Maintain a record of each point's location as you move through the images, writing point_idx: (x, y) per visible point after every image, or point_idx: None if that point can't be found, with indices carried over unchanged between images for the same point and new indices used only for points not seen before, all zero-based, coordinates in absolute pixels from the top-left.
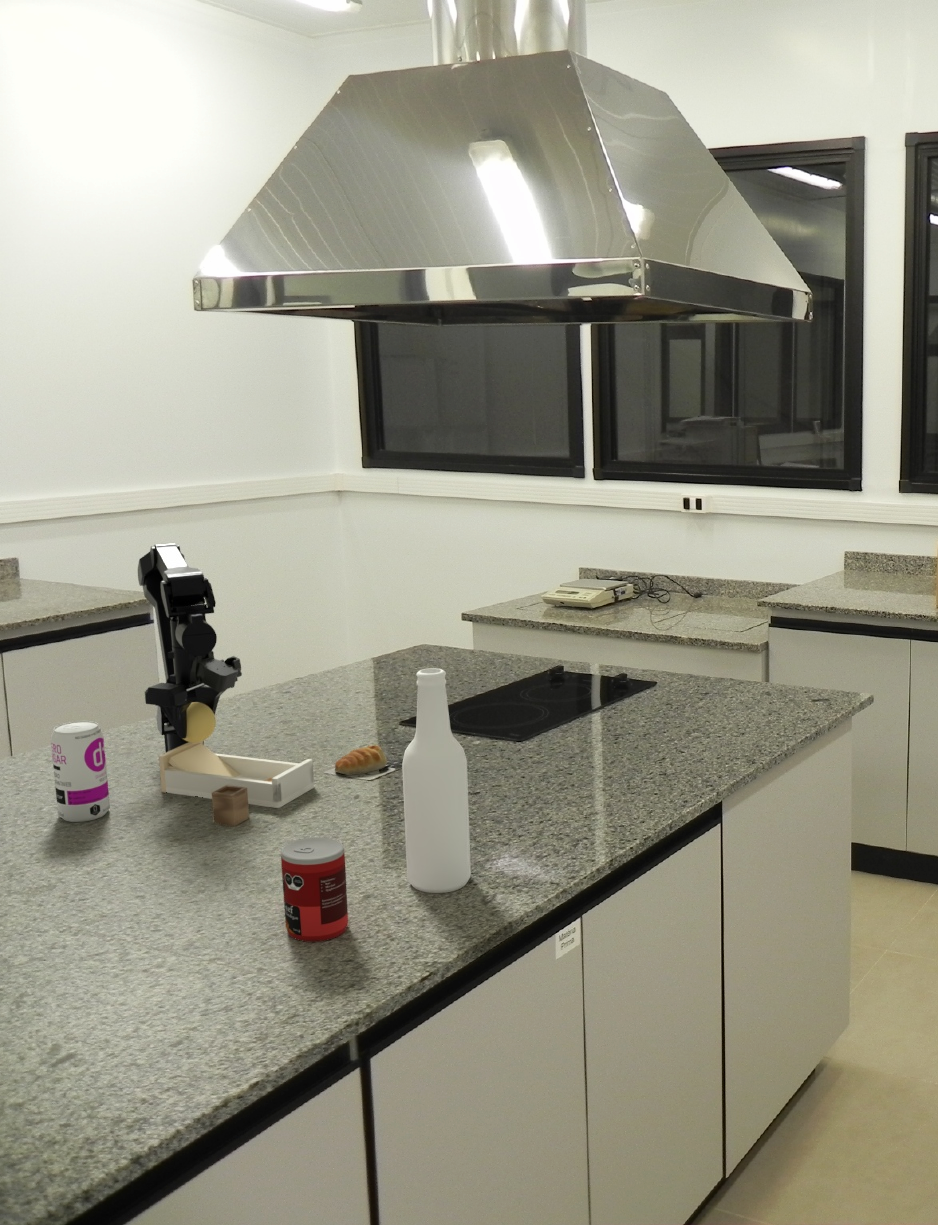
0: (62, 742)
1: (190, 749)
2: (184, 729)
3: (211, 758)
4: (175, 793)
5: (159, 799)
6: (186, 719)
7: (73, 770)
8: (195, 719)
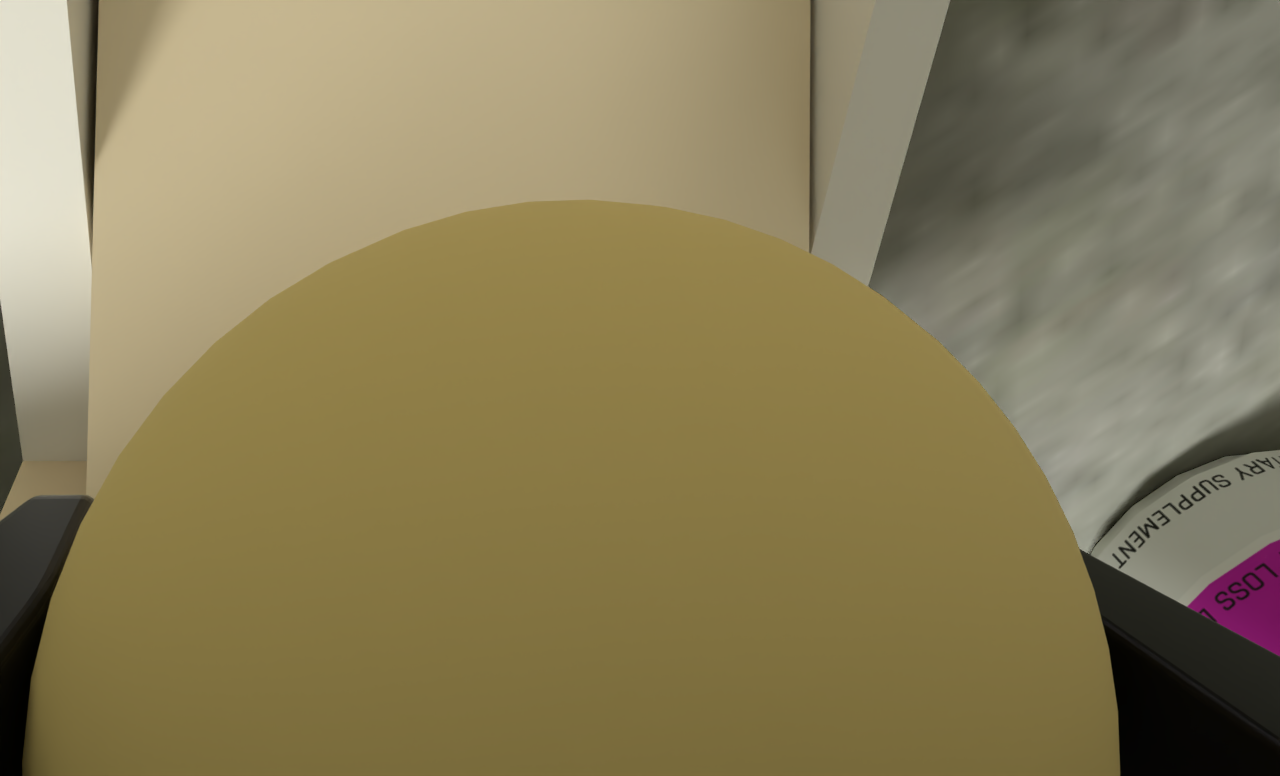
0: None
1: None
2: (1117, 573)
3: (243, 197)
4: None
5: (906, 292)
6: (1244, 712)
7: None
8: (1086, 587)
